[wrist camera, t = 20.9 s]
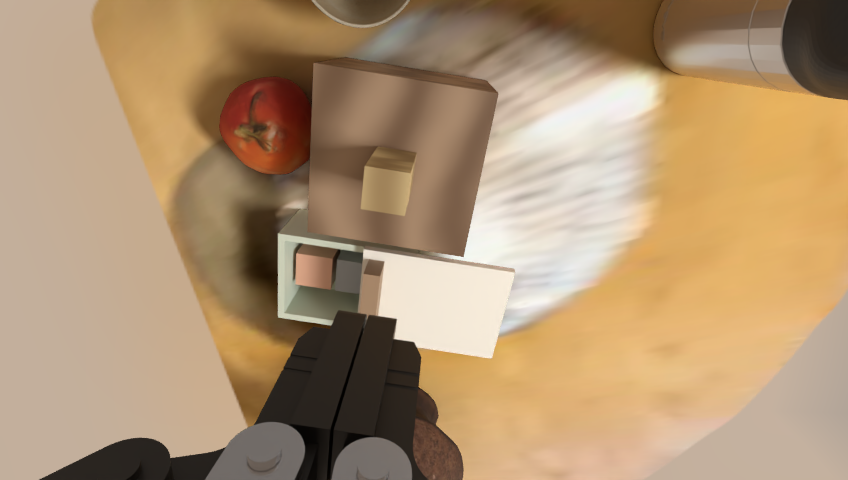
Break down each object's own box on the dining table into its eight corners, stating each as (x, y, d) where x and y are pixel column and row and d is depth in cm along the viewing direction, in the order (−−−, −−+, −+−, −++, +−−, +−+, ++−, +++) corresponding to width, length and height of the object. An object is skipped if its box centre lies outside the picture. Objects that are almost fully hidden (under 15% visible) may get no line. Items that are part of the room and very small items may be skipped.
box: (422, 227, 50) (418, 255, 43) (410, 302, 54) (405, 336, 48) (299, 208, 50) (278, 233, 43) (298, 284, 54) (278, 317, 48)
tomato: (294, 180, 48) (267, 204, 41) (225, 122, 46) (183, 137, 39) (345, 119, 45) (326, 134, 38) (274, 53, 43) (239, 56, 36)
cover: (486, 80, 43) (508, 103, 27) (460, 211, 49) (465, 292, 33) (345, 57, 42) (286, 67, 27) (337, 191, 49) (283, 263, 33)
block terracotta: (340, 243, 50) (332, 258, 47) (338, 272, 52) (330, 289, 48) (307, 237, 50) (296, 253, 47) (306, 267, 52) (295, 284, 48)
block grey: (378, 249, 50) (373, 265, 47) (375, 278, 52) (370, 295, 48) (345, 243, 50) (337, 259, 47) (342, 273, 52) (335, 290, 48)
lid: (514, 268, 43) (519, 288, 40) (491, 353, 48) (494, 377, 44) (365, 245, 43) (357, 263, 40) (356, 333, 48) (349, 355, 44)
